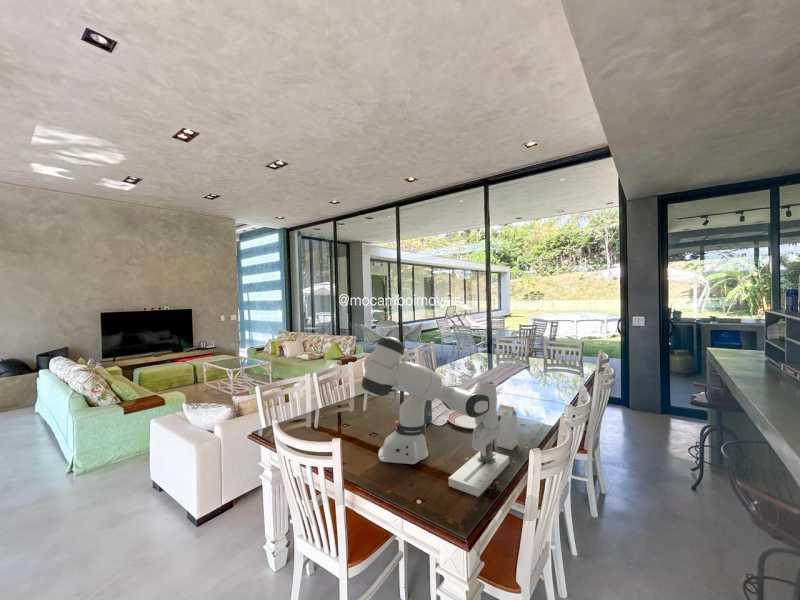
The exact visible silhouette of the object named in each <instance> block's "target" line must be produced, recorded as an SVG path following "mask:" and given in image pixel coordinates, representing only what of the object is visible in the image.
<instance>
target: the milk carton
mask: <svg viewBox="0 0 800 600" xmlns="http://www.w3.org/2000/svg"><path fill="white" fill-rule="evenodd" d="M497 414H499V415H501V420H500V433H499V436H497V437H496V446H497V447H498V448H502V449H506V450H509V451H510V450H511V451H512V450H514V448H516V447H517V446H518V415H517V411H516V410H515V407H514V406H511V405H505V404H499V405H498V410H497Z"/></svg>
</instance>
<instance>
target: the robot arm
mask: <svg viewBox="0 0 800 600" xmlns="http://www.w3.org/2000/svg"><path fill="white" fill-rule="evenodd" d="M405 349H406V348H405V345H404V343H403V342H402V341H400V340H399V339H398V338H396V337H393V336H385V335H384V336H382V337H380V339H379V340H378V342H377V343H376V347H375V348H374V350H373V351H372V352H370V353H368V355H367V356H366V358H365V359H364V363H363V364H364V365H363V367H364V370H365V372H364V376H363V377H362V380H361V387H362V389H363V390H364V391H365V392H366V393H367V394H369V395H370V396H373V397H384V396H387V395H389V394H391V392H392V393H394V392H395V390H396V391H400V392H404V393H408V398H407V399H406V400H404V401H402V403H401V404H400V405H399V421H398V420H395V421H394V424H393V425H394V426H395V428H394V431H393V432H392V433H391V434H388V435H387V436H386V437H385V439H384V442H383V445H382V446H381V447H379V450H378V454H377V455H378V457H377V458H378V460H379V461H380V462H381V463H382V462H383V463H395V464H407V465H408V464H409V465H415V464H417V463H418V462H420V461H422V460H425V459H426V458H428V457H429V452H428V448H427V443H426V432H427V431H426V430H427V429H426V423H425V422H424V408H425V403H426V400H432V401H434V400H436V399H437V400H440V402H441V403H442V404H443V405H444V406H445V407H446V409H448V410H451V411H453V412H455V411H457V412H459V413H461V414H464V415H466V416H469V417H473V418H475V424H476V425H477V426H476V428H475V429H472V430H473V431H472V435H471V448H472V449H473V450H475V451H478V452H479V451H481V453H482V456H486V455H487V451H486V446H487V445H488V444H491V445H493V443H494V440H495V439H497V436H499V433H500V420H501V415H499V414H497V412H498V410H497V404H498V394H497V393H498V392H497V386H496V384H495V383H494V382H492V381H490V380H486V379H478V380H476V381H475V384H474V385H473V386H472V388H471V389H465V388H463V387H460V386H457V385H445V384H444V383H443V379H442V377H441V375H440V374H438V373H437V372H436V371H434V370H432V369H431V368H428V367H426V366H424V365H422V364H419V363H416V362H410V361H402V357H403V356H404V353H405Z"/></svg>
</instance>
